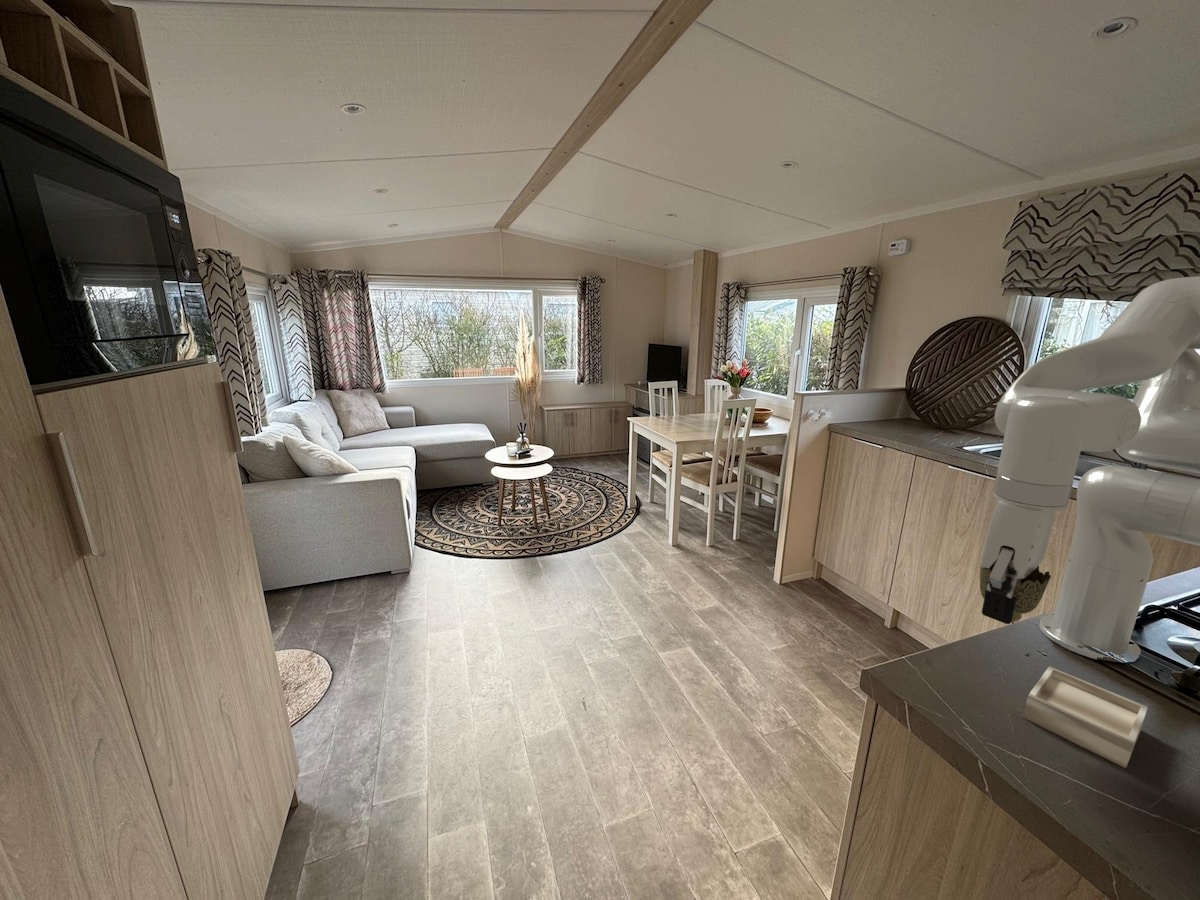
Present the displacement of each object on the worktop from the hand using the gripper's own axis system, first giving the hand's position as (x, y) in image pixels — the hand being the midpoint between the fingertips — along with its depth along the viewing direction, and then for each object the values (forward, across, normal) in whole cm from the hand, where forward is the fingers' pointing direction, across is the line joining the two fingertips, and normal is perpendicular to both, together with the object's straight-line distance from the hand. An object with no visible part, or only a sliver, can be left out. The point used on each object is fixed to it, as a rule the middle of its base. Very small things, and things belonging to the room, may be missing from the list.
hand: (1005, 608), depth 68 cm
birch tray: (+15, -5, +9) cm, 19 cm away
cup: (+2, 0, 0) cm, 2 cm away
